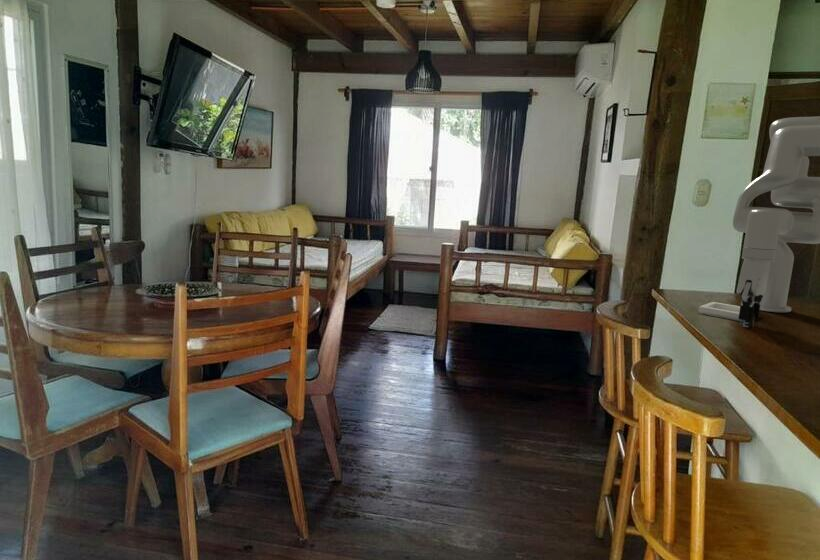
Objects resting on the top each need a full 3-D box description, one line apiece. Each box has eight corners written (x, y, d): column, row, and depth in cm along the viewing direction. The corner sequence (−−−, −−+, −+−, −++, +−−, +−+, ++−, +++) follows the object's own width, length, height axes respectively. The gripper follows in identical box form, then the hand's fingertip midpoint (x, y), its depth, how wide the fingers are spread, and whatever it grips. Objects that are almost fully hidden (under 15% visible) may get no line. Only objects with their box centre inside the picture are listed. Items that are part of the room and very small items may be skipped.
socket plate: (712, 308, 170) (712, 301, 169) (758, 316, 160) (759, 309, 160) (698, 313, 161) (699, 306, 161) (746, 322, 152) (747, 315, 152)
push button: (756, 330, 143) (762, 294, 141) (734, 326, 146) (739, 291, 145) (758, 325, 148) (764, 291, 147) (736, 322, 152) (742, 288, 150)
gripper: (752, 250, 152) (742, 311, 156) (733, 255, 141) (723, 320, 145) (782, 254, 147) (772, 316, 151) (765, 258, 136) (754, 326, 139)
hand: (748, 317), depth 147 cm, fingers closed on push button, 5 cm apart
